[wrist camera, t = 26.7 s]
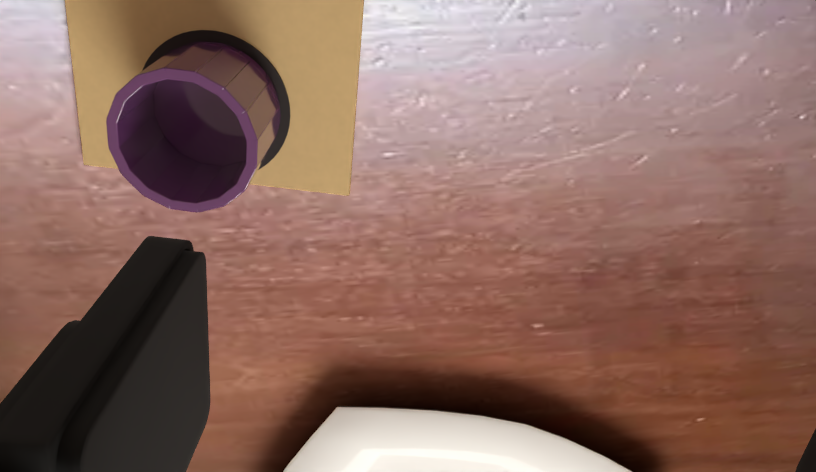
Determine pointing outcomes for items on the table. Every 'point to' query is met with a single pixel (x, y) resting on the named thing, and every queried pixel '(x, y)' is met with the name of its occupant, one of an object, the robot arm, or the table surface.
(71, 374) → the robot arm
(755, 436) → the table surface
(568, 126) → the table surface
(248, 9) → the placemat
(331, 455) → the plate
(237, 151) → the plum dish
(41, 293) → the table surface
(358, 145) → the table surface
